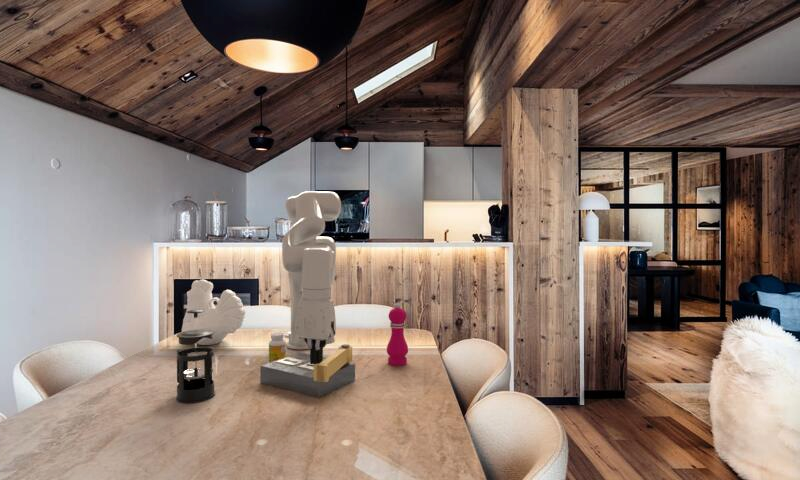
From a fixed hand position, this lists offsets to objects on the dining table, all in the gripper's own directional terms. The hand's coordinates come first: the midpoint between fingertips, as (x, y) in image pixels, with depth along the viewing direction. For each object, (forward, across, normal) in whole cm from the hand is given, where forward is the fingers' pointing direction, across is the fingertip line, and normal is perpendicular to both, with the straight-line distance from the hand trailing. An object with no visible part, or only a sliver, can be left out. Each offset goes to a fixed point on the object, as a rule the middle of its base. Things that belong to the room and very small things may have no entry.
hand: (316, 363), depth 115 cm
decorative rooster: (+11, -68, +25) cm, 73 cm away
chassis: (+9, -9, +8) cm, 15 cm away
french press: (+9, -29, -14) cm, 34 cm away
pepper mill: (+10, +6, +36) cm, 38 cm away
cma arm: (+4, +2, +6) cm, 7 cm away
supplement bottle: (+10, -29, +18) cm, 36 cm away
